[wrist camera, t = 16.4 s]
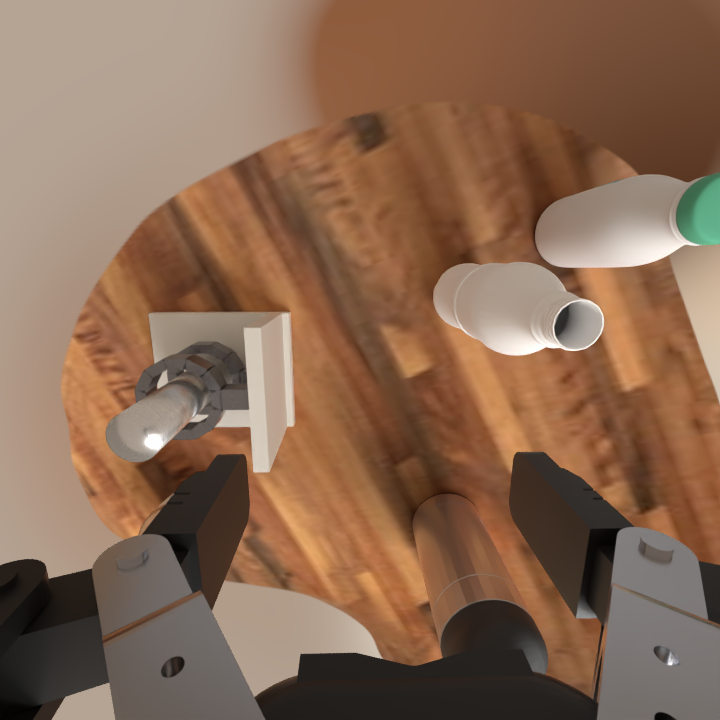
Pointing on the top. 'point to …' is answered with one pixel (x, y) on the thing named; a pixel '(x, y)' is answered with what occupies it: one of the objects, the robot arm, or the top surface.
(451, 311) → the water bottle
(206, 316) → the tube holder
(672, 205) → the milk bottle
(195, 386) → the steel tube
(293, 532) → the top surface
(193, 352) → the collars
